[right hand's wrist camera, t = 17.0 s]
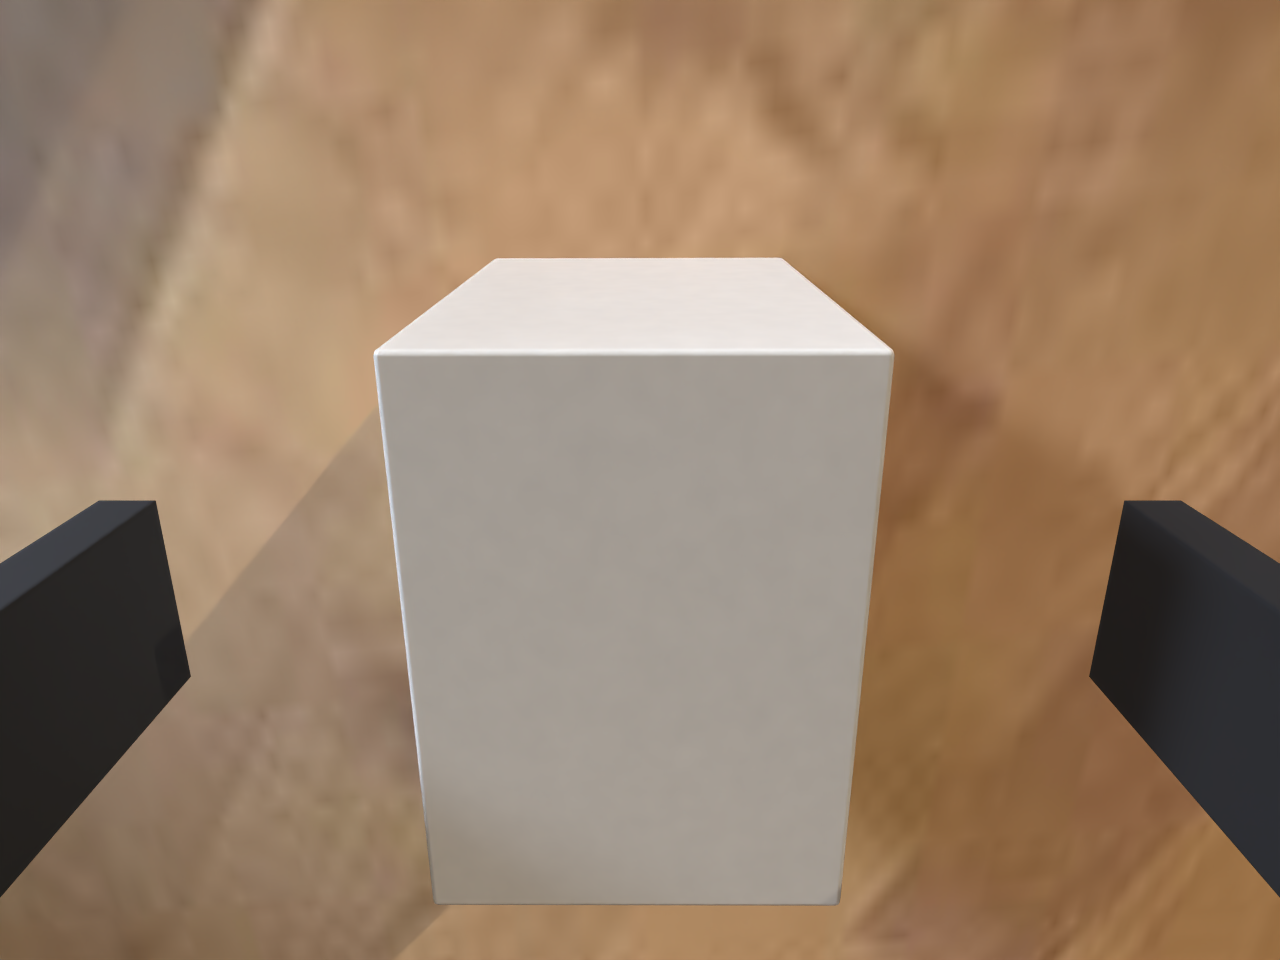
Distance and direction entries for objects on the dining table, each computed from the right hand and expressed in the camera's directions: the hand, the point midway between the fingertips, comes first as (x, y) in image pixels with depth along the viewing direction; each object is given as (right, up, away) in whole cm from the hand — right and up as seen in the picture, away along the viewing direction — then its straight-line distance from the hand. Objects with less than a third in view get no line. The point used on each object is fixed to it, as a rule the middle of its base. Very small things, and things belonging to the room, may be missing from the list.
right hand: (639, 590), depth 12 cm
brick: (0, +2, +5) cm, 5 cm away
